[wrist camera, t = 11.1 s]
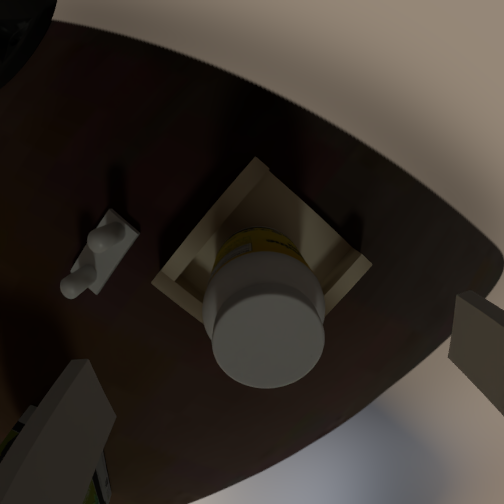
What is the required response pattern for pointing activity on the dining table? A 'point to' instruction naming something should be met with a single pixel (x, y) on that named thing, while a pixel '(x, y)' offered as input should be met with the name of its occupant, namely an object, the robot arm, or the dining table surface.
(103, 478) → the tea box
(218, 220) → the square tray
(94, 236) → the clip
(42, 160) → the dining table surface
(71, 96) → the dining table surface
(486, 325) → the robot arm
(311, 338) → the pill bottle
